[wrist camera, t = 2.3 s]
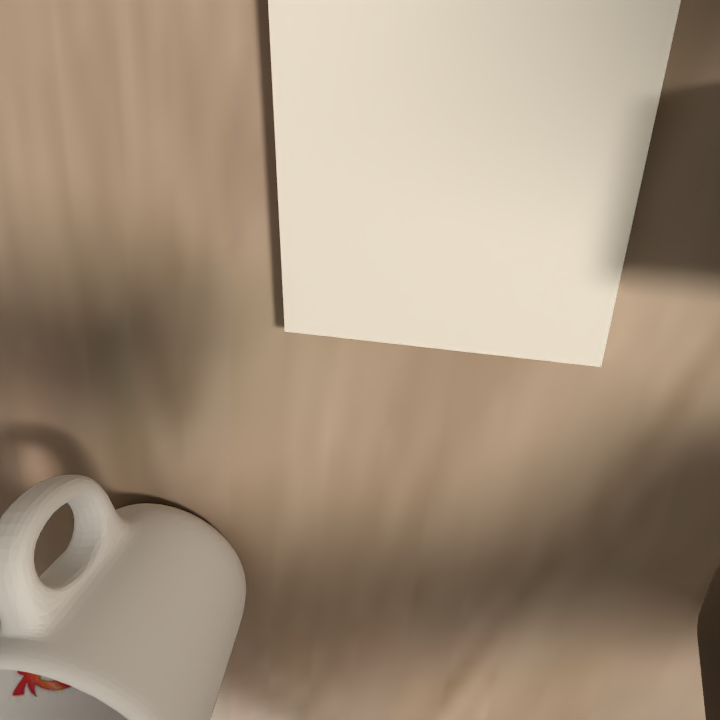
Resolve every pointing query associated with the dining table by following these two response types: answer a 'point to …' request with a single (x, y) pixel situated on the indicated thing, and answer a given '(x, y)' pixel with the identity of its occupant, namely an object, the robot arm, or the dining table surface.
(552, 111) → the coaster
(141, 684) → the cup
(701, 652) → the robot arm
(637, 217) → the dining table surface
